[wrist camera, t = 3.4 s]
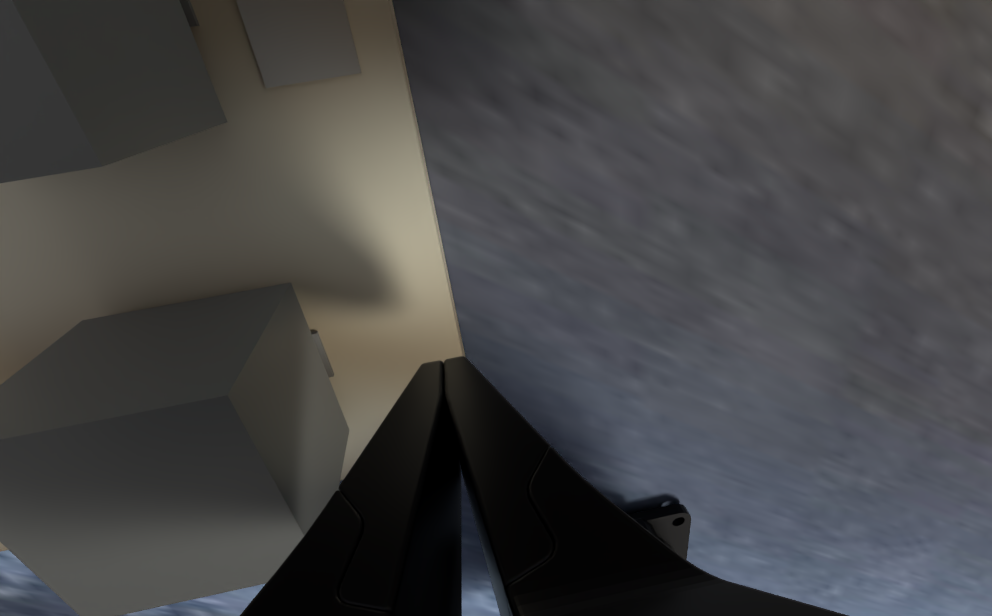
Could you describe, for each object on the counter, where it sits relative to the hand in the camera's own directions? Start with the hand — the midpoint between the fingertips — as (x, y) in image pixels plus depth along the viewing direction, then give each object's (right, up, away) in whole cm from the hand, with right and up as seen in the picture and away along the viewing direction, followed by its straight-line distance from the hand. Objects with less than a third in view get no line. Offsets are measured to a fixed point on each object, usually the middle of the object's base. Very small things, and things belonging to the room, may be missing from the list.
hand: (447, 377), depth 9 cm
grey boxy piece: (-5, 0, +1) cm, 5 cm away
